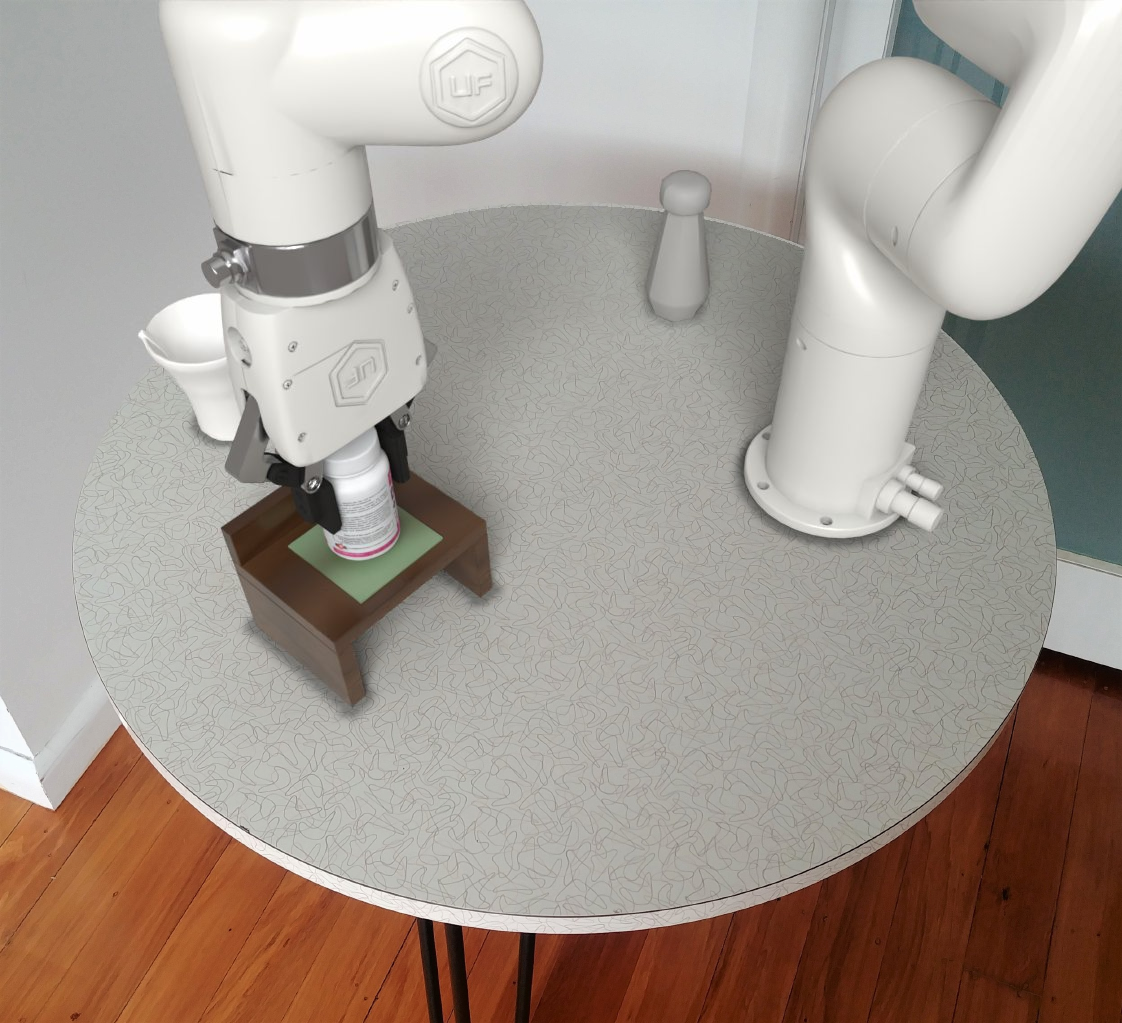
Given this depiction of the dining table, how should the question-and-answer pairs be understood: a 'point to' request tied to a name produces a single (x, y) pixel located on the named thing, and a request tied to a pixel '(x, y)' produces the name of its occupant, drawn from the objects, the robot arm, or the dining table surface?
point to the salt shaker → (680, 248)
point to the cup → (197, 360)
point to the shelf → (348, 574)
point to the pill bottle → (362, 499)
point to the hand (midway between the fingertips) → (356, 493)
